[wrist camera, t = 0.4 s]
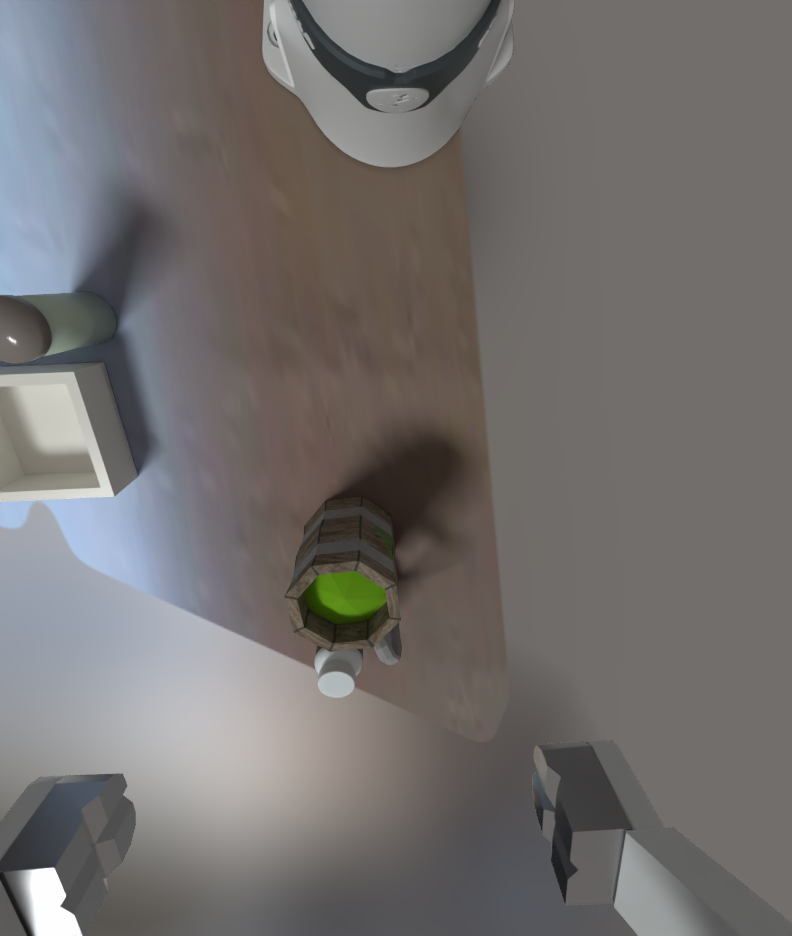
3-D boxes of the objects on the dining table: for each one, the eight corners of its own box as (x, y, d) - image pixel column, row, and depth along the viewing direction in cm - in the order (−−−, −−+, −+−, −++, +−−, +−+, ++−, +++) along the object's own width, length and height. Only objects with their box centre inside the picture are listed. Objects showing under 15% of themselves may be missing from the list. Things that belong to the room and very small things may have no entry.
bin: (-25, 367, 42) (-70, 377, 37) (104, 362, 42) (73, 371, 38) (22, 481, 46) (-13, 502, 42) (138, 476, 47) (114, 496, 42)
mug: (284, 521, 50) (258, 591, 39) (367, 478, 48) (365, 539, 37) (355, 615, 55) (350, 699, 44) (432, 580, 54) (446, 658, 43)
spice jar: (57, 291, 39) (-43, 296, 30) (109, 290, 39) (26, 294, 30) (73, 344, 41) (-15, 365, 32) (123, 342, 41) (49, 362, 32)
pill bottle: (352, 596, 54) (348, 660, 45) (371, 627, 56) (370, 693, 47) (313, 611, 55) (301, 677, 46) (333, 641, 57) (325, 709, 48)
